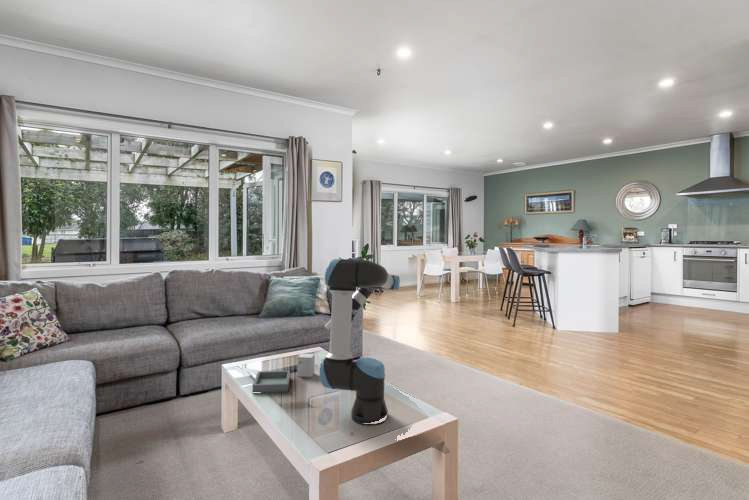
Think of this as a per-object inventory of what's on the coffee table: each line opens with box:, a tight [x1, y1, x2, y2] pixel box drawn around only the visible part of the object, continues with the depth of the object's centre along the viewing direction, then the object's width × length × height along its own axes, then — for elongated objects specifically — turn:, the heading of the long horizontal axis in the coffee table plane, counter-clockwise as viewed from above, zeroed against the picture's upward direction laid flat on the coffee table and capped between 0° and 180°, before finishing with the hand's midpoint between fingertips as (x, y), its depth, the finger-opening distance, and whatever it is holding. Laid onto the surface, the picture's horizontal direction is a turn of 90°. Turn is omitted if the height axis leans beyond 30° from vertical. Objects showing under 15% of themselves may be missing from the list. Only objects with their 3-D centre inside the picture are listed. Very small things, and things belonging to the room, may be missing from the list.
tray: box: [252, 370, 291, 394], centre depth 193 cm, size 18×16×4 cm
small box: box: [296, 353, 316, 378], centre depth 208 cm, size 8×6×10 cm
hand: (330, 332), depth 208 cm, fingers open, 13 cm apart
